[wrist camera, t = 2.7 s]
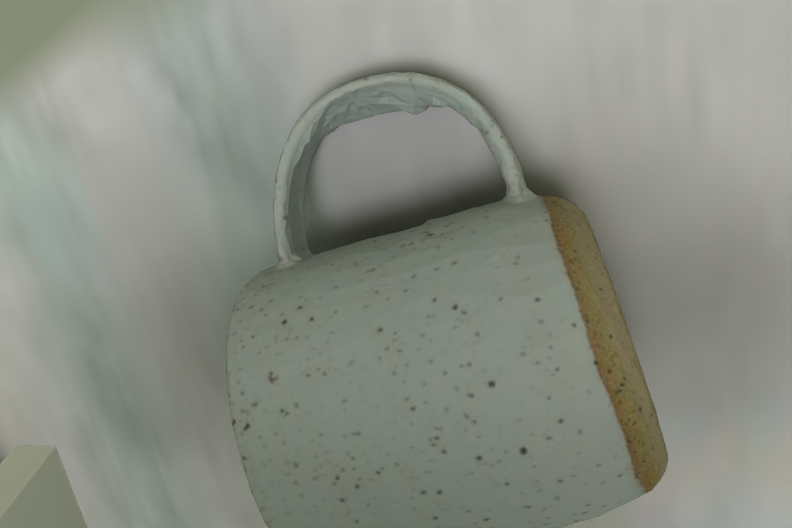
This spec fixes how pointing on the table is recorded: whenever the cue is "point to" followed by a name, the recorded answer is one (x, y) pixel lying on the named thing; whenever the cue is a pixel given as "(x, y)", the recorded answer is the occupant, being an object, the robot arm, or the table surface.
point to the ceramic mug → (437, 356)
